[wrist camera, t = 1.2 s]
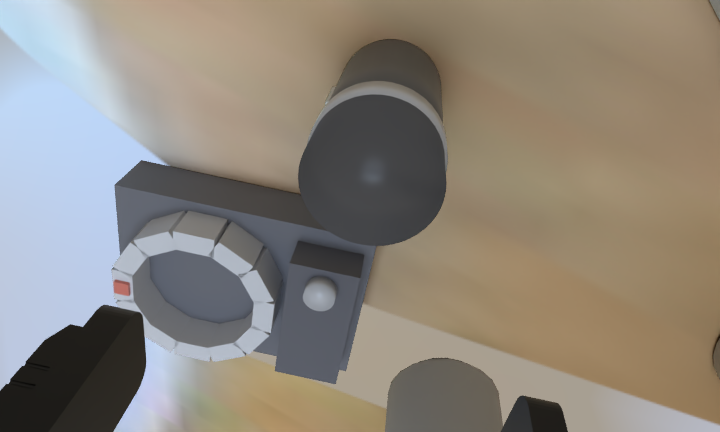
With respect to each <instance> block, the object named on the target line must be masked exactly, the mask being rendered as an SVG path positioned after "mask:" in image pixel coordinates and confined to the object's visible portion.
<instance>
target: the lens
mask: <svg viewBox="0 0 720 432" xmlns="http://www.w3.org/2000/svg"><path fill="white" fill-rule="evenodd" d="M447 162H448V155H447V140H446V133H445V129H444V126H443V113H442V95H441V81H440V76H439V73H438V70H437V68H436V66H435V64H434V63H433V61H432V60H431V58H430V57H429V56H428V55H427V54H426V53H425V52H424V51H423V50H421V49H420V48H418V47H417V46H415V45H413V44H411V43H409V42H405V41H402V40H396V39H386V40H379V41H376V42H373V43H370V44H368V45H366V46H365V47H363V48H361V49H360V50H359V51H358V52H356V53H355V54H354V56H353V57H352V58H351V59H350V61H349V62H348V64H347V65H346V67H345V69H344V71H343V73H342V75H341V77H340V79H339V81H338V83H337V85H336V87H334V86H333V87H332V89H331V91H330V93H329V95H328V97H327V99H326V102H325V107H324V108H323V109H322V111H321V113H320V114H319V116H318V118H317V120H316V122H315V124H314V126H313V128H312V130H311V133H310V136H309V139H308V144H307V146H306V148H305V150H304V153H303V155H302V158H301V161H300V165H299V173H298V181H299V188H300V193H301V196H302V199H303V201H304V203H305V205H306V207H307V209H308V211H309V212H310V213H311V215H312V216H313V217H314V219H315V220H316V221H317V222H318V223H319V224H320V225H321V226H323V227H324V228H325V229H326V230H328V231H329V232H331V233H332V234H334V235H336V236H337V237H339V238H341V239H344V240H346V241H349V242H352V243H356V244H361V245H368V246H384V245H390V244H395V243H399V242H402V241H405V240H407V239H409V238H411V237H413V236H415V235H417V234H418V233H420V232H421V231H422V230H424V229H425V228H426V227H427V226H428V225H429V224H430V223H431V222H432V221H433V219H434V218H435V217H436V215H437V214H438V212H439V210H440V208H441V206H442V203H443V201H444V197H445V192H446V170H447Z"/></svg>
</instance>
